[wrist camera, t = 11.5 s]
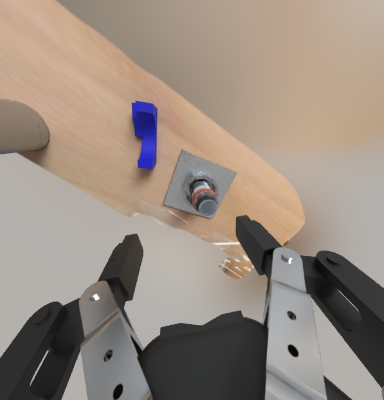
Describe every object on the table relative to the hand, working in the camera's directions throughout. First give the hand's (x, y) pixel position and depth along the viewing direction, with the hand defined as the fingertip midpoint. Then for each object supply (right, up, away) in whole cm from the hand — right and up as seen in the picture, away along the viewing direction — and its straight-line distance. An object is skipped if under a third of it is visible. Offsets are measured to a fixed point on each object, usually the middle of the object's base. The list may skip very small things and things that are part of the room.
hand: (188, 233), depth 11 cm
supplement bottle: (+3, +6, +28) cm, 28 cm away
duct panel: (+2, +6, +28) cm, 29 cm away
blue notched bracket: (-10, +18, +22) cm, 30 cm away
